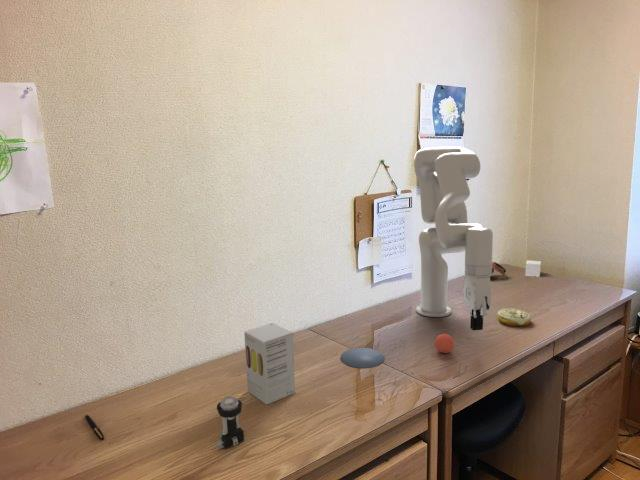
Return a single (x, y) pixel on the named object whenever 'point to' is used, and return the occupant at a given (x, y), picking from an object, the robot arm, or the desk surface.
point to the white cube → (533, 268)
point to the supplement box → (270, 362)
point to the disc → (362, 357)
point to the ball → (444, 343)
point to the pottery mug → (498, 269)
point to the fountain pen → (94, 427)
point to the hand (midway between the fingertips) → (476, 329)
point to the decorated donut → (514, 317)
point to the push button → (230, 422)
